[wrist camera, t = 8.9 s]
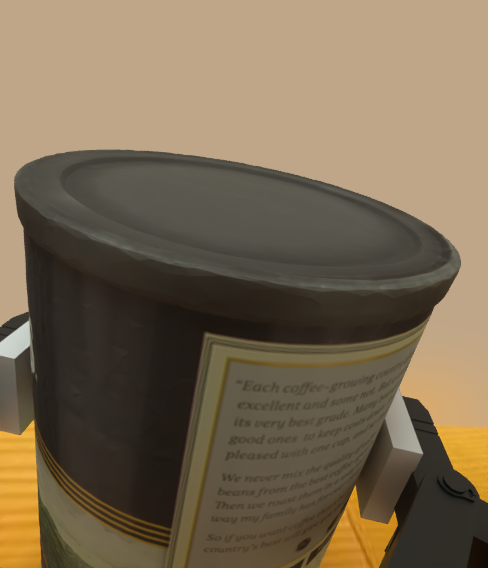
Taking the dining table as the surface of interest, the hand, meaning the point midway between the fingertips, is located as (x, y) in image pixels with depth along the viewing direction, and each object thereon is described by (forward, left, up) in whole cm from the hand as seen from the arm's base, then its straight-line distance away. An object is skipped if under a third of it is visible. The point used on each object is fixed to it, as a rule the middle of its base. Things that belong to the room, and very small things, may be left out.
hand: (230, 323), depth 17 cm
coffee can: (0, +4, -8) cm, 9 cm away
